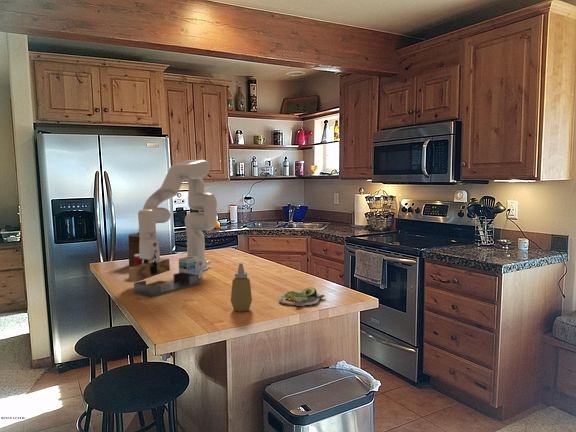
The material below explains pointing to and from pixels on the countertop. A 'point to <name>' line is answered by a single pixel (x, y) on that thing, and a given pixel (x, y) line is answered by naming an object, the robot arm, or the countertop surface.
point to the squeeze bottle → (241, 291)
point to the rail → (147, 270)
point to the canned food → (137, 260)
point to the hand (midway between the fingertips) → (150, 272)
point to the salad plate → (302, 297)
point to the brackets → (167, 285)
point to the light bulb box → (191, 265)
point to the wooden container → (133, 247)
